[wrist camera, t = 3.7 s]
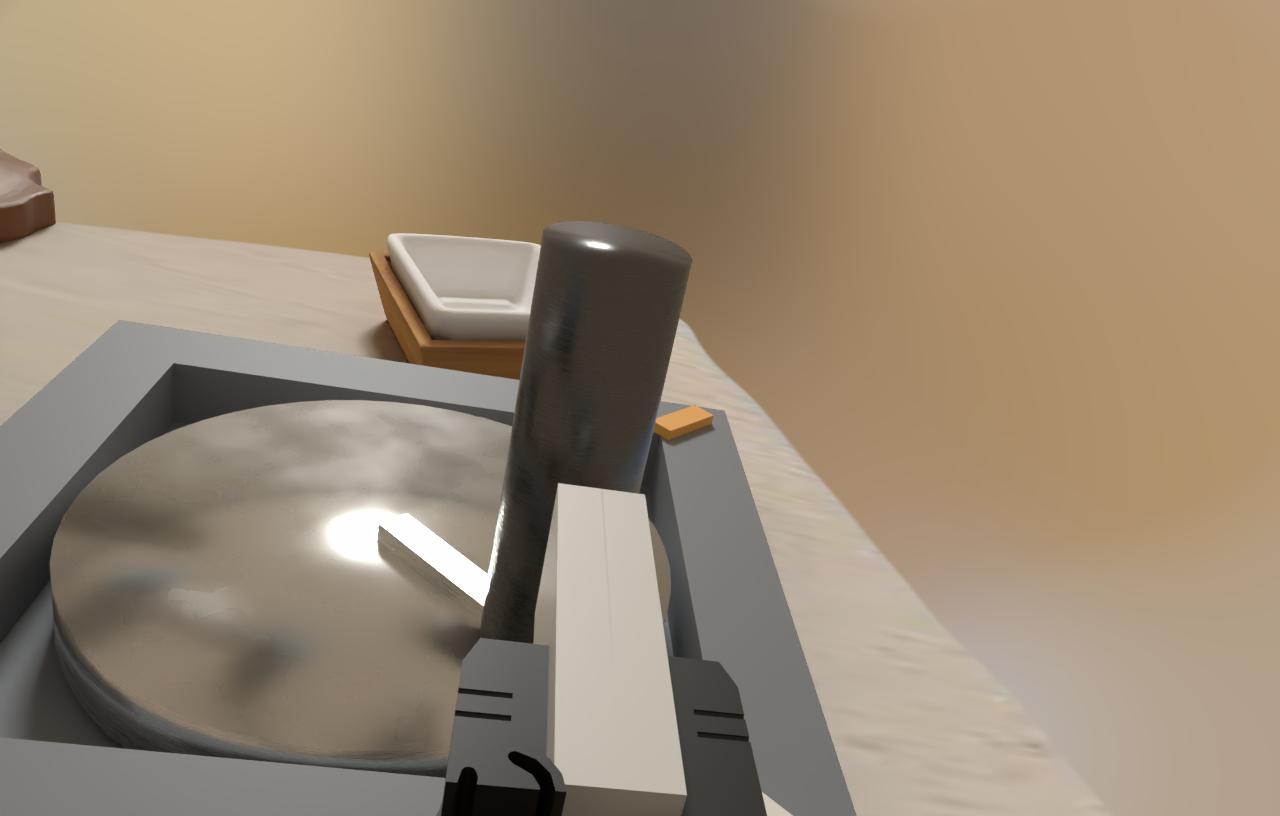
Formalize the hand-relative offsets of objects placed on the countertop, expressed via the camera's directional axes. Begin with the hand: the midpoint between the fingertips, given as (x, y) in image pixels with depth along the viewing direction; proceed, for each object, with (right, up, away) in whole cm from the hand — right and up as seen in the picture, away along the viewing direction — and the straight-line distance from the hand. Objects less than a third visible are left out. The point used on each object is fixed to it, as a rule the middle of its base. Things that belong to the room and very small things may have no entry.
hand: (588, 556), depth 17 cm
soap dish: (-7, +5, +34) cm, 35 cm away
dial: (-7, -3, +13) cm, 15 cm away
